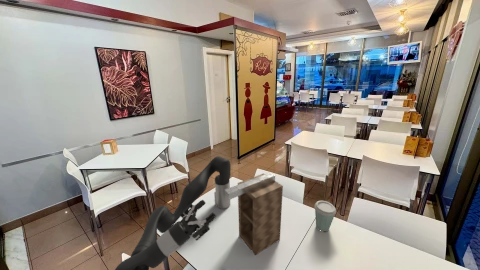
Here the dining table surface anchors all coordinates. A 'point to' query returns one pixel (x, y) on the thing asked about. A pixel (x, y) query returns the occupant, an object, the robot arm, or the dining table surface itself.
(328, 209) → the disposable coffee cup
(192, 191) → the robot arm
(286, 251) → the dining table surface
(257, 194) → the walnut shelf
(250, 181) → the metal bar
